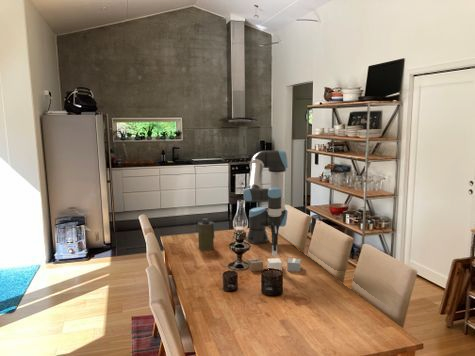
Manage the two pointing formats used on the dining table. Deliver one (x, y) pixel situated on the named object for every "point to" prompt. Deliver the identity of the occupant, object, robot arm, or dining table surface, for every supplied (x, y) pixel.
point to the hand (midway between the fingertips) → (274, 255)
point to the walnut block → (255, 264)
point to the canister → (206, 234)
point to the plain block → (275, 263)
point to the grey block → (293, 264)
